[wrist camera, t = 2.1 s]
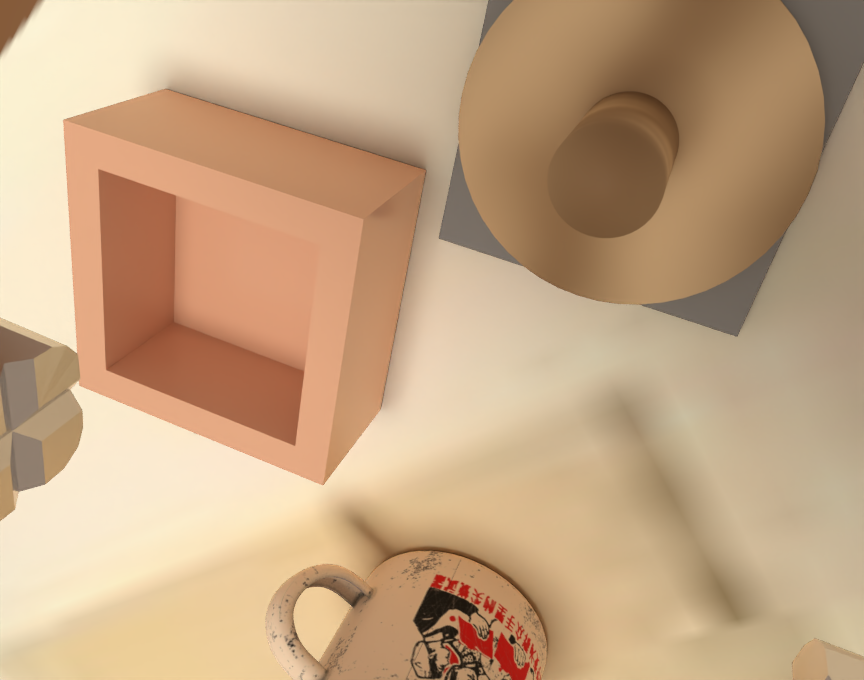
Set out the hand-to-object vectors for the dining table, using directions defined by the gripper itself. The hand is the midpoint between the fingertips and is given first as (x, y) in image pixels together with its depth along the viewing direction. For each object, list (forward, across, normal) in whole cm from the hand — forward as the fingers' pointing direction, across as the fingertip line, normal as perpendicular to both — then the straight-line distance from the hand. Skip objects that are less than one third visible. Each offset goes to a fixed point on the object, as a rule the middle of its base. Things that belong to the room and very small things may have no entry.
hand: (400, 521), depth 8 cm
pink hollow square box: (+18, +11, +8) cm, 23 cm away
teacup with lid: (+18, +2, +22) cm, 29 cm away
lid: (+18, 0, 0) cm, 18 cm away
